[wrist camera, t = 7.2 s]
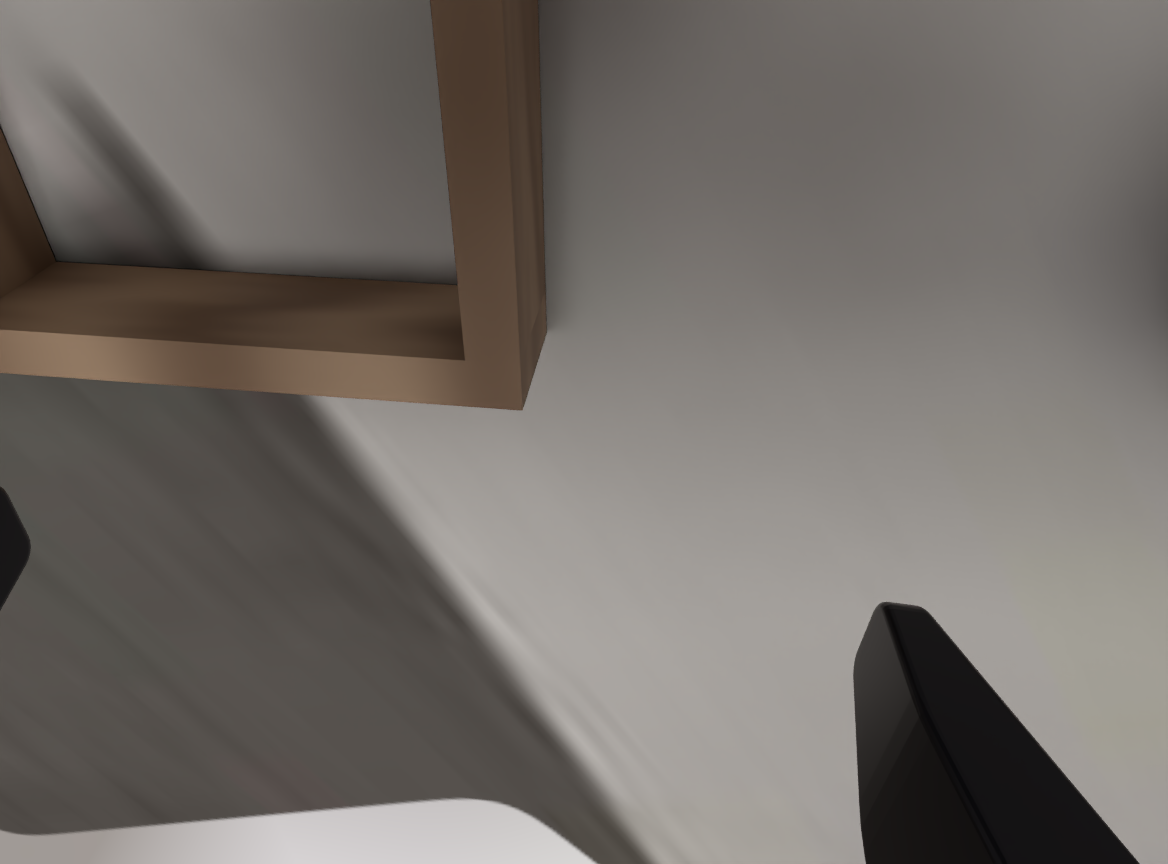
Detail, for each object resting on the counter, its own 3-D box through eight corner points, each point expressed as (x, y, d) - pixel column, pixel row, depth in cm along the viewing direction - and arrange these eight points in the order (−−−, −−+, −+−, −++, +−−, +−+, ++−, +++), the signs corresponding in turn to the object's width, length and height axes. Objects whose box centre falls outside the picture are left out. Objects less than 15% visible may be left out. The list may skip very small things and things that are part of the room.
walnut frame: (528, -377, 13) (480, -435, 10) (546, 332, 21) (522, 410, 18) (-266, -363, 14) (-502, -411, 11) (31, 300, 22) (-66, 368, 19)
